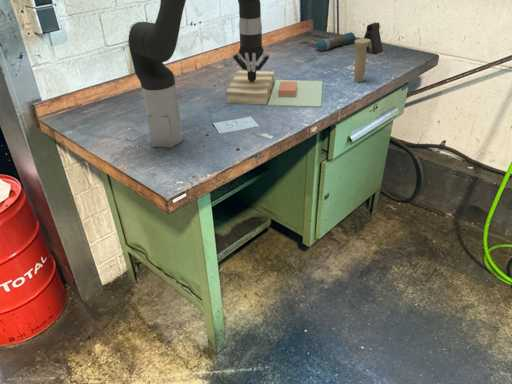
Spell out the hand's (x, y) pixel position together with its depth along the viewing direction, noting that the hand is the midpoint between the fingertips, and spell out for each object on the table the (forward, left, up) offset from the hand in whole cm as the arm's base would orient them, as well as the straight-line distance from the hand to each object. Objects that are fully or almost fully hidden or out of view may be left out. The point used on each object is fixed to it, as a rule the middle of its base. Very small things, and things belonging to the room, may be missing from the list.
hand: (252, 81), depth 153 cm
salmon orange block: (+1, -13, -2) cm, 13 cm away
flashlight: (+61, -30, -5) cm, 68 cm away
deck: (+1, +1, -5) cm, 5 cm away
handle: (+15, -38, -5) cm, 42 cm away
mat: (+1, -16, -5) cm, 17 cm away
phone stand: (+54, -45, -5) cm, 71 cm away
